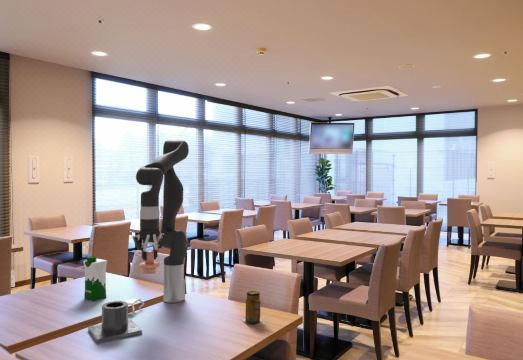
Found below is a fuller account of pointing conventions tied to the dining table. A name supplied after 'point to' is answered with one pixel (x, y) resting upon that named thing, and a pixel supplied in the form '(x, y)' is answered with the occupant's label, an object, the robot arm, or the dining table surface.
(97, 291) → the milk carton
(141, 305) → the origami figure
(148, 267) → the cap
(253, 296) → the condiment
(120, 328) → the flanged pipe socket
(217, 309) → the dining table surface
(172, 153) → the robot arm
